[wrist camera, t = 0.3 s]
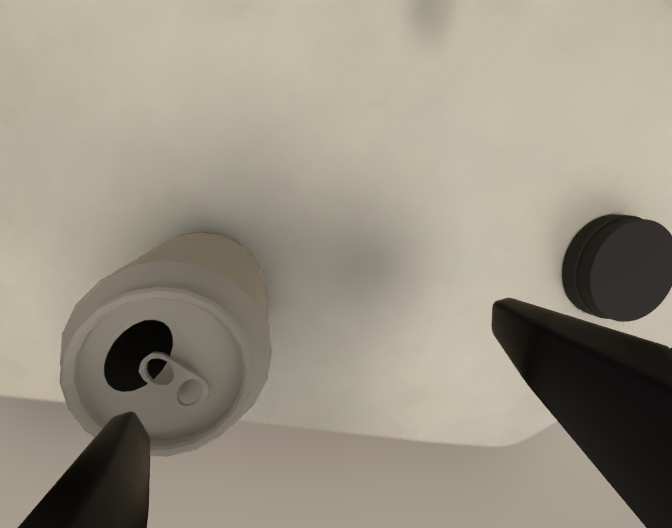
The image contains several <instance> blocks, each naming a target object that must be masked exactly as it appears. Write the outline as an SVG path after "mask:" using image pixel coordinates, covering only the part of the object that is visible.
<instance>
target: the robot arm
mask: <svg viewBox="0 0 672 528" xmlns="http://www.w3.org/2000/svg"><path fill="white" fill-rule="evenodd" d="M492 331H493V334H494V336H495V337H496V339H497V340H498V342H499V343H500V345H501V346H502V348H503V349H504V351H505V352H506V354H507V355H508V357H509V358H510V360H511V361H512V363H513V364H514V366H515V367H516V369H517V370H518V372H519V373H520V374H521V376H522V377H523V379H524V380H525V382H526V383H527V384H528V386H529V387H530V388H531V389H532V391H533V392H534V393H535V394H536V395H537V397H538V398H539V399H540V400H541V401H542V403H543V404H544V405H545V406H546V407H547V409H548V410H549V411H550V412H551V413H552V415H553V416H554V417H555V418H556V419H557V421H558V422H559V423H560V424H561V425H562V426H563V428H564V429H565V430H566V431H567V433H568V434H569V435H570V436H571V437H572V439H573V440H574V441H575V442H576V443H577V445H578V446H579V447H580V448H581V450H582V451H583V452H584V453H585V454H586V455H587V457H588V458H589V459H590V460H591V461H592V463H593V464H594V465H595V466H596V467H597V469H598V470H599V471H600V472H601V474H602V475H603V476H604V477H605V478H606V480H607V481H608V482H609V483H610V484H611V486H612V487H613V488H614V489H615V490H616V491H617V493H618V494H619V495H620V496H621V497H622V499H623V500H624V501H625V502H626V504H627V505H628V506H629V507H630V508H631V510H632V511H633V512H634V513H635V514H636V516H637V517H638V518H639V519H640V520H641V522H642V523H643V524H644V525H645V526H646V528H672V348H669V347H668V346H665V345H662V344H658V343H655V342H652V341H649V340H645V339H642V338H639V337H636V336H632V335H629V334H626V333H623V332H620V331H616V330H613V329H610V328H607V327H603V326H600V325H597V324H594V323H590V322H587V321H584V320H581V319H577V318H574V317H571V316H568V315H564V314H561V313H558V312H555V311H552V310H548V309H545V308H542V307H539V306H535V305H532V304H529V303H526V302H522V301H519V300H516V299H513V298H505V299H502V300H498V301H496V302H494V304H493V308H492ZM149 478H150V438H149V435H148V433H147V431H146V429H145V428H144V426H143V424H142V423H141V421H140V419H139V418H138V416H137V415H136V413H134V412H132V411H130V412H126V413H123V414H119V415H116V416H114V417H113V418H111V419H110V421H109V422H108V423H107V424H106V425H105V426H104V428H103V429H102V430H101V431H100V432H99V433H98V435H97V436H96V437H95V438H94V439H93V440H92V442H91V443H90V444H89V445H88V446H87V447H86V449H85V450H84V451H83V452H82V453H81V454H80V456H79V457H78V458H77V459H76V460H75V461H74V463H73V464H72V465H71V466H70V468H68V470H67V471H66V472H65V473H64V474H63V476H62V477H61V478H60V479H59V480H58V481H57V482H56V484H55V485H54V486H53V487H52V488H51V490H50V491H49V492H48V493H47V494H46V495H45V496H44V498H43V499H42V500H41V501H40V502H39V504H38V505H37V506H36V507H35V508H34V509H33V510H32V512H31V513H30V514H29V515H28V516H27V518H26V519H25V520H24V521H23V522H22V523H21V524H20V526H19V527H18V528H147V519H148V509H149V508H148V507H149Z"/></svg>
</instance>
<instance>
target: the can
mask: <svg viewBox="0 0 672 528" xmlns="http://www.w3.org/2000/svg"><path fill="white" fill-rule="evenodd" d="M271 353H272V350H271V339H270V328H269V316H268V305H267V294H266V287H265V281H264V276H263V272H262V271H261V269H260V267H259V265H258V263H257V261H256V260H255V258H254V257H253V256H252V255H251V254H250V253H249V252H248V251H247V250H246V249H245V248H244V247H243V246H242V245H241V244H239V243H237V242H235V241H233V240H231V239H229V238H227V237H225V236H223V235H217V234H211V233H204V232H199V233H193V234H186V235H181V236H179V237H177V238H175V239H173V240H171V241H168V242H166V243H164V244H162V245H161V246H159V247H157V248H156V249H154V250H152V251H150V252H149V253H147V254H145V255H144V256H142V257H140V258H138V259H137V260H135V261H133V262H132V263H130V264H128V265H126V266H125V267H123V268H121V269H119V270H118V271H116V272H114V273H113V274H111V275H109V276H107V277H106V278H104V279H102V280H101V281H99V282H98V283H97V284H96V285H95V286H94V287H93V288H92V289H91V290H90V291H89V292H88V293H87V294H86V295H85V296H84V297H83V298H82V299H81V300H80V301H79V302H78V303H77V304H76V305H75V307H74V310H73V312H72V314H71V316H70V318H69V320H68V322H67V324H66V326H65V329H64V331H63V333H62V343H61V358H60V366H61V372H60V385H61V388H62V391H63V394H64V397H65V400H66V404H67V407H68V409H69V411H70V412H71V413H72V414H73V416H74V417H75V418H76V419H77V421H78V422H79V423H80V425H81V426H82V427H83V428H84V429H85V431H86V432H88V433H89V434H91V435H92V436H94V437H96V436H97V435H98V433H99V432H100V431H101V430H102V429H103V428H104V426H105V425H106V424H107V423H108V422H109V421H110V419H111V418H113V417H114V416H116V415H119V414H123V413H126V412H130V411H132V412H134V413H136V415H137V416H138V418H139V419H140V421H141V423H142V424H143V426H144V428H145V429H146V431H147V433H148V435H149V438H150V456H171V455H175V454H179V453H184V452H188V451H192V450H196V449H198V448H200V447H201V446H203V445H205V444H207V443H209V442H211V441H212V440H214V439H216V438H218V437H220V436H221V435H222V434H223V433H224V432H225V431H226V430H227V429H228V428H229V427H230V426H232V425H233V424H234V423H235V422H236V421H237V420H238V419H239V418H240V417H241V416H242V415H243V414H245V413H246V412H247V411H248V410H249V409H250V408H251V407H252V406H253V405H254V403H255V401H256V399H257V398H258V396H259V394H260V392H261V390H262V388H263V386H264V384H265V382H266V380H267V377H268V371H269V365H270V359H271Z"/></svg>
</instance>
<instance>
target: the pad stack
mask: <svg viewBox="0 0 672 528" xmlns="http://www.w3.org/2000/svg"><path fill="white" fill-rule="evenodd" d="M563 284H564V288H565V291H566V294H567V295H568V297H569V299H570V300H571V302H572V303H573V304H574V305H575V306H576V307H577V308H579V309H580V310H582V311H584V312H586V313H589V314H591V315H594V316H597V317H600V318H606V319H612V320H616V321H623V322H624V321H633V320H637V319H640V318H642V317H644V316H646V315H647V314H649V313H651V312H652V311H653V310H654V309H656V308H657V307H658V306H659V305H660V304H661V302H662V301H663V300H664V299H665V297H666V296H667V294H668V293H669V291H670V289H671V287H672V235H671V234H670V232H669V231H668V230H667V229H666V228H665V227H664V226H662V225H661V224H659V223H657V222H655V221H652V220H646V219H642V218H639V217H636V216H629V215H607V216H603V217H600V218H598V219H596V220H594V221H592V222H590V223H589V224H588V225H586V226H585V227H584V228H583V229H582V230H581V231H580V232H579V233H578V234H577V235H576V237H575V238H574V239H573V241H572V243H571V244H570V246H569V248H568V251H567V253H566V256H565V260H564V264H563Z"/></svg>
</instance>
